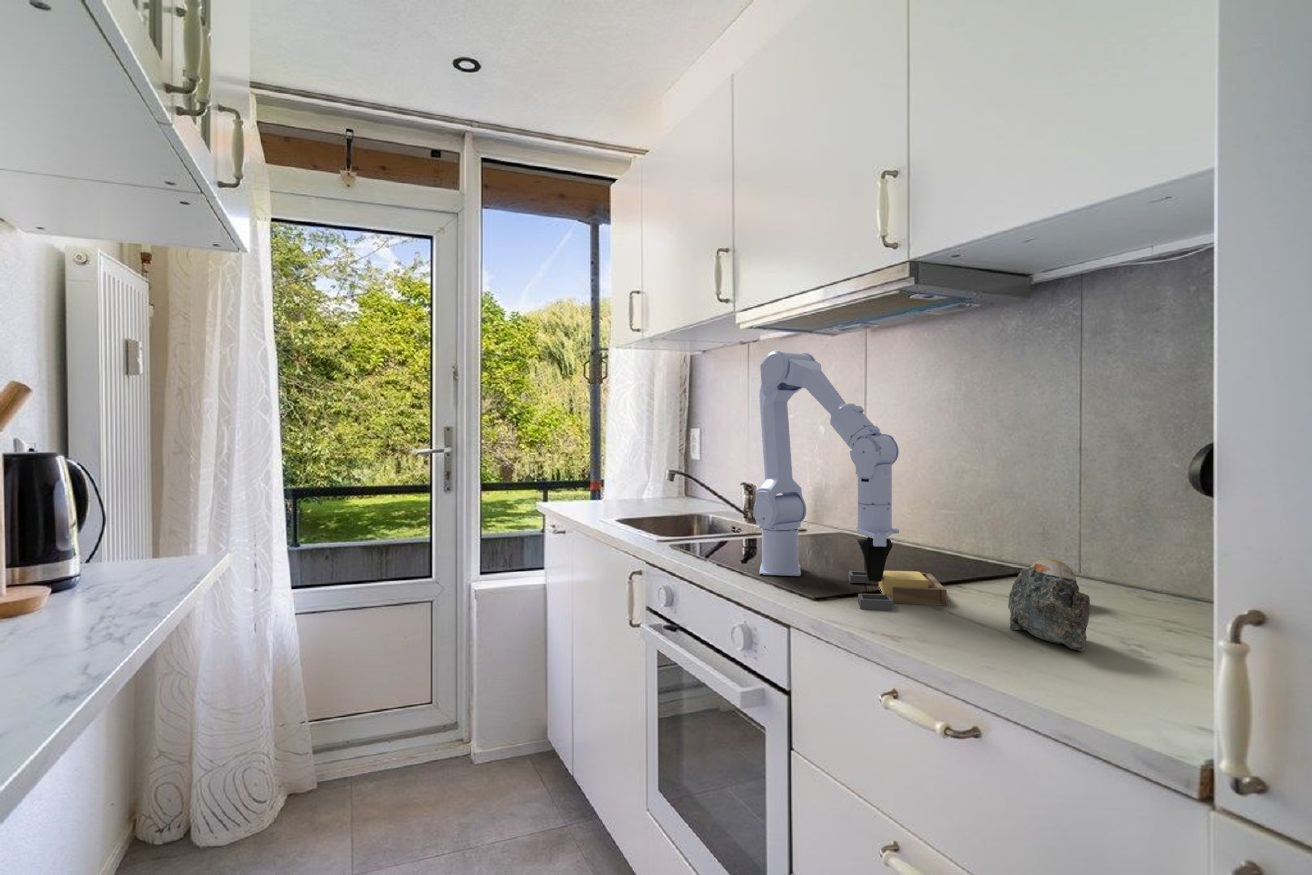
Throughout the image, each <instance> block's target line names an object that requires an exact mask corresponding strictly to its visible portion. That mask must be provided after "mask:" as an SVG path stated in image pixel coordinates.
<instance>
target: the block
mask: <svg viewBox="0 0 1312 875" xmlns="http://www.w3.org/2000/svg"><path fill="white" fill-rule="evenodd" d="M921 573H922V572H921V571H912V570H911V571H910V570H909V571H907V570H905V571H903V570H884V573H883V577H882V580H881V582H878V588H879V587H880V589H881V591H882V592H881V591H880V592H881V594H883V595H890V597H891V598H892V599H893V587H912V588H928V580H927V579H926V578H925V577H924V576H923V575H922V574H921ZM880 589H879V590H880Z"/></svg>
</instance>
